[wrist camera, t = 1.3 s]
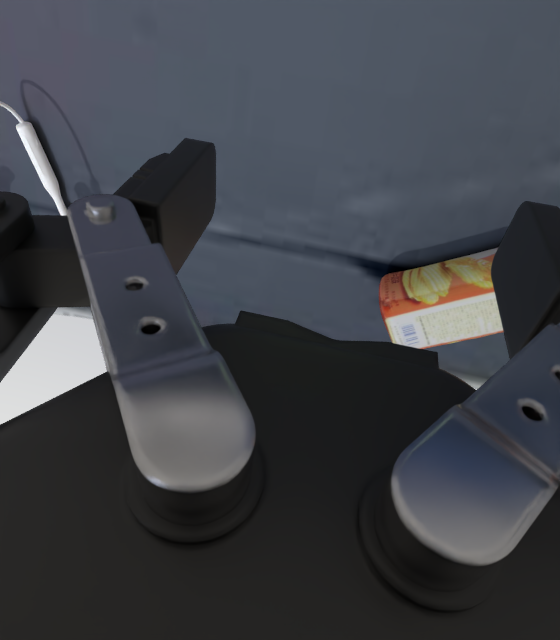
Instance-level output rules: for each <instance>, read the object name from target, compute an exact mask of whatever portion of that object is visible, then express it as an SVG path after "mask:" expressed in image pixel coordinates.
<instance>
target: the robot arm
mask: <svg viewBox="0 0 560 640" xmlns="http://www.w3.org/2000/svg"><path fill="white" fill-rule="evenodd" d="M215 202H216V150H215V146H214V144H213V143H210V142H205V141H199V140H194V139H188V138H185V139H184V140H183V141H182V142H181V143H180V144H179V145H178V146H177V147H176V148H175V149H174V150H173V151H172V152H171V153H170V154H168V153H163V154H161V155H158V156H156V157H153V158H151V159H149V160H148V161H147V162H146V163H145V164H144V165H143V166H142V167H141V168H140V170H138V171H137V172H136V173H134V174H133V177H130V178H129V179H128V180H127V181H126V182H125V183H124V184H123V185H122V186H121V187H120V188H119V189H118V190H117V191H116V192H115V193H114V194H113V195H110V194H98V195H91V196H87V197H83V198H81V199H78V200H76V201H75V202H73V203H72V204H71V205H70V206H69V207H68V209H67V215H65V216H52V215H32V214H31V211H30V208H29V204H28V201H27V200H26V199H25V198H24V197H23V196H21V195H19V194H16V193H11V192H0V382H1V381H2V379H3V378H4V377H5V376H6V374H7V373H8V371H9V370H10V369H11V368H12V366H13V365H14V364H15V363H16V361H17V360H18V359H19V357H20V356H21V355H22V354H23V352H24V351H25V350H26V348H27V347H28V346H29V344H30V343H31V342H32V340H33V339H34V338H35V337H36V335H37V334H38V333H39V331H40V330H41V329H42V328H43V326H44V325H45V324H46V322H47V321H48V320H49V318H50V317H51V316H52V315H53V313H54V312H55V311H56V309H57V307H90V308H91V312H92V316H93V320H94V323H95V327H96V331H97V335H98V338H99V342H100V346H101V350H102V354H103V357H104V361H105V365H106V369H107V372H105V373H103V374H101V375H99V376H97V377H96V378H94V379H91V380H89V381H87V382H85V383H83V384H81V385H79V386H77V387H75V388H73V389H72V390H69V391H67V392H65V393H63V394H61V395H59V396H57V397H55V398H53V399H51V400H49V401H47V402H45V403H43V404H41V405H39V406H37V407H35V408H33V409H31V410H29V411H27V412H25V413H23V414H21V415H19V416H17V417H15V418H13V419H11V420H9V421H7V422H5V423H3V424H1V425H0V640H560V209H559V208H558V207H557V206H551V205H546V204H540V203H535V202H529V201H525V202H523V203H522V204H521V205H520V207H519V208H518V210H517V212H516V214H515V216H514V218H513V220H512V222H511V224H510V226H509V228H508V230H507V231H506V233H505V235H504V237H503V239H502V241H501V243H500V245H499V247H498V249H497V251H496V253H495V256H494V258H493V262H492V266H491V279H492V283H493V287H494V292H495V296H496V301H497V305H498V309H499V314H500V318H501V323H502V327H503V331H504V336H505V340H506V345H507V349H508V353H509V358H510V360H509V361H508V362H507V363H506V364H505V365H504V366H503V367H502V368H500V369H499V370H498V371H497V372H496V373H495V374H494V375H493V376H492V377H491V378H490V379H488V380H487V381H486V382H485V383H484V384H483V385H482V386H481V387H480V388H479V389H477V390H475V389H474V388H472V387H471V386H470V385H468V384H467V383H466V382H464V381H462V380H461V379H459V378H458V377H456V376H454V375H452V374H450V373H448V372H447V371H445V370H442V369H440V368H439V366H438V353H437V352H433V351H428V350H423V349H419V348H414V347H409V346H405V345H400V344H395V343H391V342H373V341H340V340H334V339H331V338H329V337H326V336H324V335H321V334H319V333H317V332H314V331H312V330H309V329H307V328H305V327H302V326H300V325H297V324H295V323H292V322H290V321H288V320H283V319H278V318H274V317H269V316H264V315H260V314H255V313H250V312H245V311H240V313H239V316H238V318H237V321H236V323H235V324H217V325H211V326H205V327H201V325H200V323H199V321H198V319H197V317H196V315H195V313H194V311H193V309H192V307H191V305H190V303H189V301H188V299H187V297H186V295H185V292H184V290H183V288H182V286H181V284H180V282H179V280H178V278H177V276H176V275H177V273H178V271H179V270H180V268H181V267H182V265H183V264H184V262H185V260H186V259H187V257H188V256H189V254H190V252H191V251H192V249H193V248H194V246H195V244H196V243H197V241H198V240H199V238H200V237H201V235H202V233H203V232H204V230H205V229H206V227H207V225H208V224H209V222H210V221H211V219H212V216H213V213H214V209H215Z"/></svg>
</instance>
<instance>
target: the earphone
mask: <svg viewBox="0 0 560 640" xmlns="http://www.w3.org/2000/svg"><path fill="white" fill-rule="evenodd" d="M0 106H3V107H5V108H6V109H8V110H9V111H10V112H11V113H12V114H13V115H14V116H15V117H16V118H17V119H18V120H19V122H20V123H19V124H17V125H16V129H17V131H18V133H19V135H20V137H21V140H22V142H23V144H24V146H25V148H26V150H27V152H28V154H29V156H30V158H31V160H32V163H33V165H34V167H35V169H36V171H37V173H38V175H39V177H40V179H41V181H42V183H43V186H44V187H45V188H46V190H47V191H48V192H49V194H50V195H51V196H52V197H53V199H54V201H55V203H56V206H57V208H58V210H59V212H60V215H61V216H65V215H67V209H66V207H65V204H64V202H63V200H62V197H61V193H60V188H59V183H58V181H57V178H56V176H55V174H54V172H53V170H52V167H51V165H50V163H49V161H48V159H47V156H46V154H45V152H44V150H43V148H42V145H41V143H40V141H39V139H38V137H37V134H36V132H35V130H34V128H33V126H32V124H31V123H30V122H24V121H23V119H22V118H21V117H20V116H19V115H18V113H17V112H16V111H15V110H14V109H12V108H11V107H10V106H9V105H7V104H5V103H3V102H1V101H0Z"/></svg>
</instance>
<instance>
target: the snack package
mask: <svg viewBox="0 0 560 640" xmlns="http://www.w3.org/2000/svg"><path fill="white" fill-rule="evenodd" d="M497 249H498V248H494V249H490V250H486V251H483V252H479V253H475V254H471V255H467V256H463V257H459V258H455V259H451V260H447V261H444V262H440V263H436V264H432V265H428V266H424V267H419V268H415V269H411V270H406V271H400V272H394V273H389V274H387V275H385V276H384V277H383V278H382V279H381V282H380V285H379V305H380V311H381V315H382V318H383V321H384V324H385V326H386V329H387V331H388V333H389V336H390V338H391V341H392V342H393V343H395V344H400V345H405V346H409V347H414V348H419V349H425V348H429V347H433V346H438V345H443V344H450V343H454V342H458V341H463V340H468V339H474V338H480V337H483V336H487V335H491V334H496V333H500V332H504V331H503V327H502V323H501V318H500V314H499V309H498V305H497V301H496V296H495V292H494V287H493V283H492V279H491V266H492V262H493V258H494V256H495V253H496V251H497Z"/></svg>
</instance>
